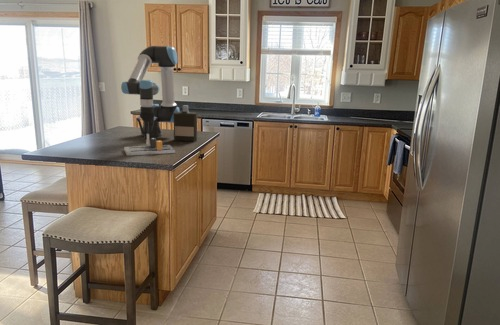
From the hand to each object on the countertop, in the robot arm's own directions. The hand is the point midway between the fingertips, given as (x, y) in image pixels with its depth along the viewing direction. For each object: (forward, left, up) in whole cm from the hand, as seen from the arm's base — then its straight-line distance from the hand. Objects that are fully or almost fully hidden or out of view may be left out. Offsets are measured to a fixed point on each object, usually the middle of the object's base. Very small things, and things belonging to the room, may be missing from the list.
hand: (147, 144), depth 222 cm
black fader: (0, +3, -1) cm, 4 cm away
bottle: (-25, +30, -4) cm, 39 cm away
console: (+4, 0, -4) cm, 5 cm away
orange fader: (+9, +5, -1) cm, 11 cm away
